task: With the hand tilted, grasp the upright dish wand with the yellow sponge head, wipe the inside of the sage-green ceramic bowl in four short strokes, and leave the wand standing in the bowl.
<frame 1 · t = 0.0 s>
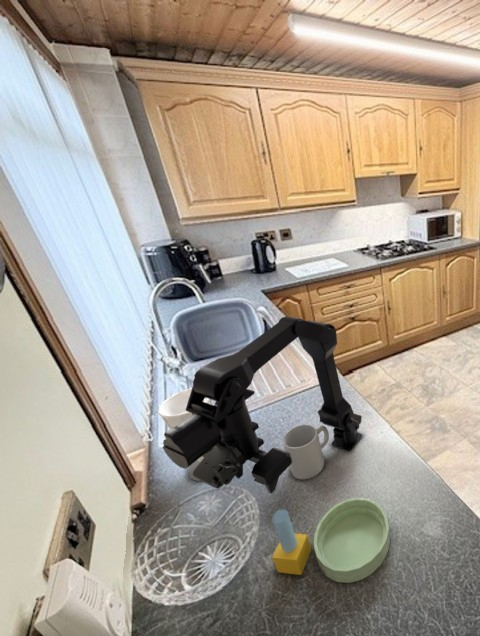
hand: (256, 483, 71), 15 cm above the worktop, tool pointing down, fingers open, 9 cm apart
sponge wand: (295, 560, 71), on the worktop
cup: (212, 463, 95), on the worktop
bowl: (354, 544, 74), on the worktop
mug: (313, 462, 94), on the worktop
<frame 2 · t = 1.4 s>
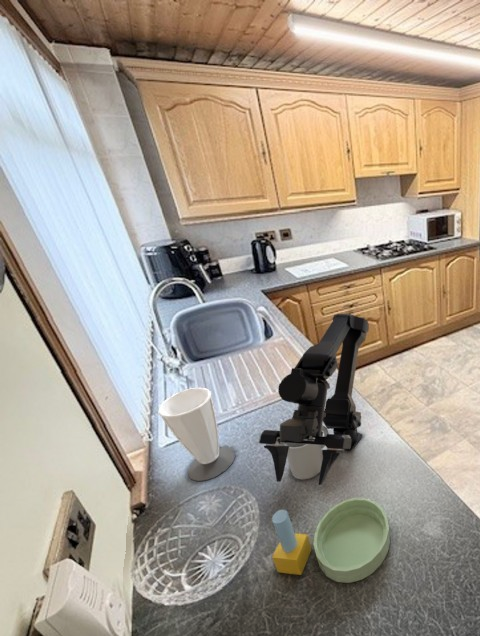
hand: (299, 483, 72), 13 cm above the worktop, tool tilted 45°, fingers open, 9 cm apart
nothing on the worktop moved.
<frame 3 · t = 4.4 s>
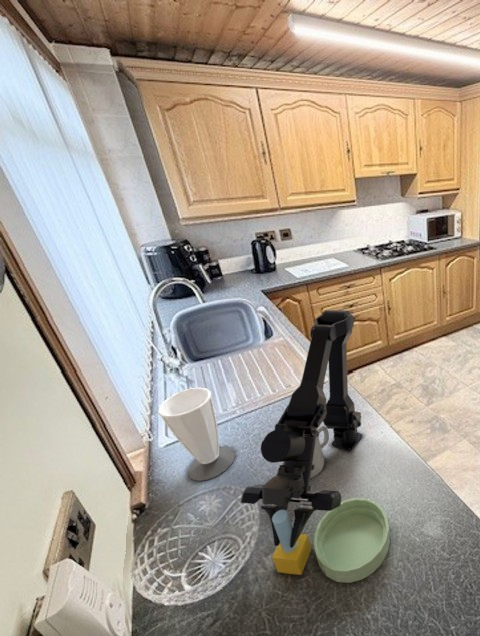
hand: (284, 546, 67), 7 cm above the worktop, tool tilted 45°, fingers closed on sponge wand, 3 cm apart
sponge wand: (295, 560, 71), on the worktop, touching gripper
everything else where it was.
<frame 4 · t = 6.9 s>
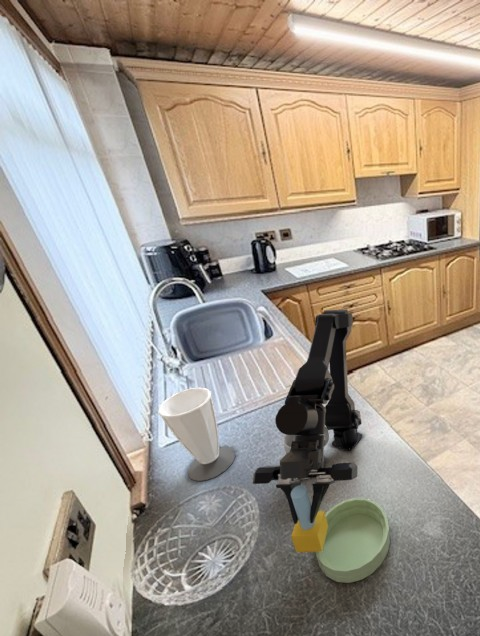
hand: (303, 523, 65), 13 cm above the worktop, tool tilted 45°, fingers closed on sponge wand, 3 cm apart
sponge wand: (312, 539, 69), point 6 cm above the worktop, touching gripper
everything else where it was.
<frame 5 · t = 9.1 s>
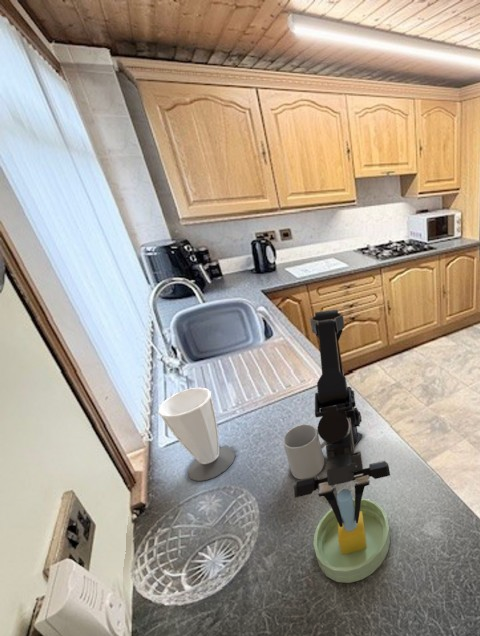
hand: (349, 524, 69), 9 cm above the worktop, tool tilted 45°, fingers closed on sponge wand, 3 cm apart
sponge wand: (353, 539, 73), point 2 cm above the worktop, touching gripper
everything else where it was.
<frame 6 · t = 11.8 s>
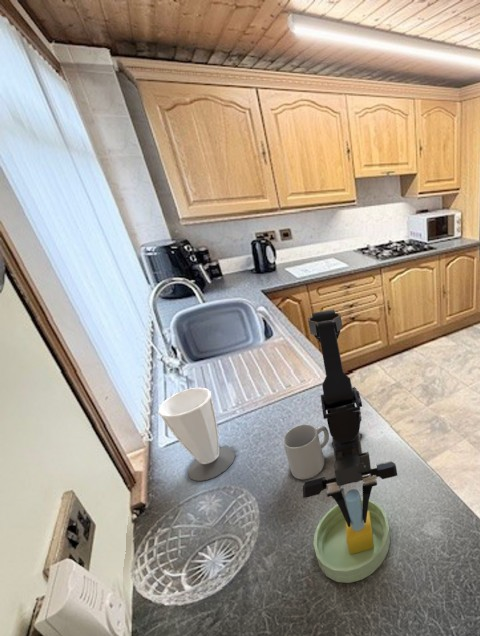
hand: (357, 524, 69), 8 cm above the worktop, tool tilted 45°, fingers closed on sponge wand, 3 cm apart
sponge wand: (361, 539, 74), point 1 cm above the worktop, touching gripper
everything else where it was.
when the fingers open (8 cm above the worktop, at t = 13.7 s): sponge wand stays where it is, resting on bowl.
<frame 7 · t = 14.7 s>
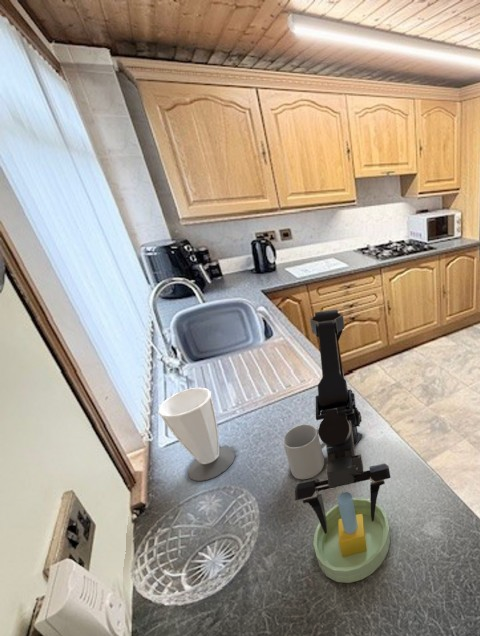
hand: (349, 527, 69), 8 cm above the worktop, tool tilted 45°, fingers open, 9 cm apart
sponge wand: (354, 542, 74), point 1 cm above the worktop, touching bowl
everything else where it was.
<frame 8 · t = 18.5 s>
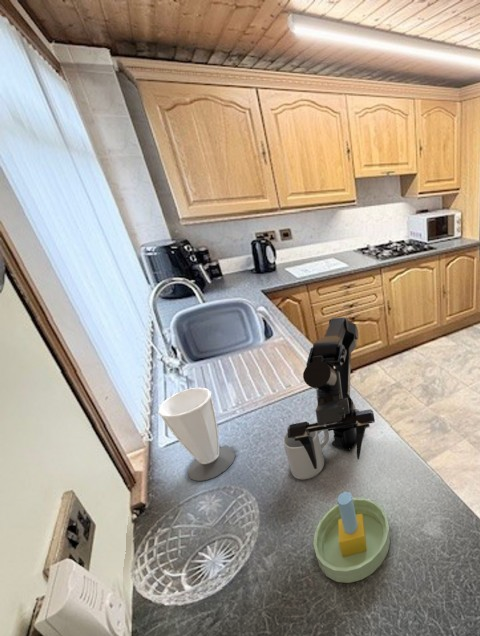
hand: (337, 464, 76), 14 cm above the worktop, tool tilted 45°, fingers open, 9 cm apart
nothing on the worktop moved.
at the end: sponge wand inside the target area in the bowl (0.0 cm from its centre), point 0.6 cm above the bowl's base; the gripper is holding nothing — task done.
